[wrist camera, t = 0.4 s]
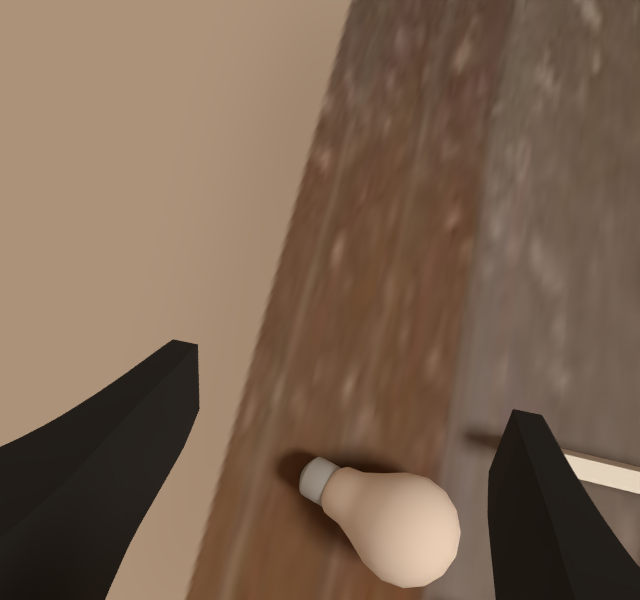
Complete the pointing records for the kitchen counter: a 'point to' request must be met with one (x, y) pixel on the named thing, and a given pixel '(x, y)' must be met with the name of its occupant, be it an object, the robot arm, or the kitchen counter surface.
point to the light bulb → (388, 519)
